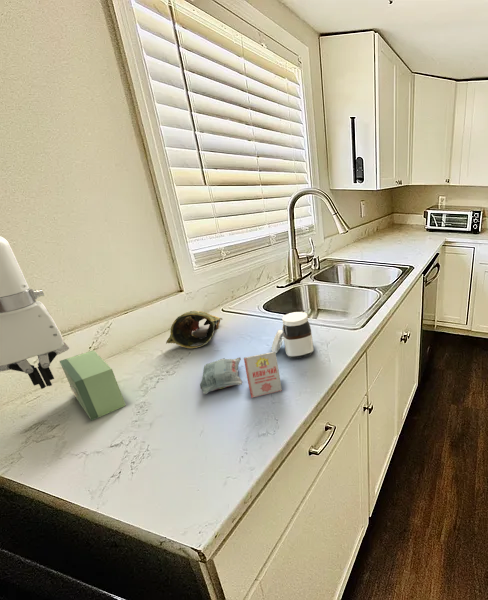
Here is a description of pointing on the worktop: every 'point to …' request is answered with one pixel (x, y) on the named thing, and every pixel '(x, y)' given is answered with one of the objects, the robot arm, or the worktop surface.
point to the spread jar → (294, 336)
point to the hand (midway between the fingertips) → (45, 384)
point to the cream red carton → (262, 374)
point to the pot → (192, 329)
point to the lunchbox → (93, 384)
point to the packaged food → (220, 375)
